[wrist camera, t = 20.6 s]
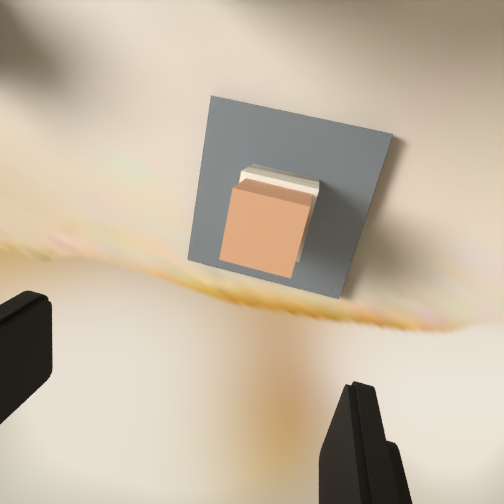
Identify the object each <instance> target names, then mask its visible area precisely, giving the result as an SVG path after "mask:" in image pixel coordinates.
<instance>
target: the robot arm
mask: <svg viewBox="0 0 504 504" xmlns="http://www.w3.org/2000/svg"><path fill="white" fill-rule="evenodd" d="M51 373H52V304H51V302H49V301H48V297H47V296H45V295H43V294H40V293H36V292H32V291H24V292H22V293H20V294H19V295H17V296H15V297H13V298H12V299H10V300H8V301H6V302H4V303H3V304H1V305H0V424H1V423H2V422H3V421H4V420H5V419H6V418H7V417H9V416H10V415H11V414H12V413H13V412H14V411H15V410H16V409H17V408H18V407H19V406H20V405H21V404H22V403H24V402H25V401H26V400H27V399H28V398H29V397H30V396H31V395H32V394H33V393H34V392H35V391H36V390H37V389H38V388H39V387H41V386H42V385H43V383H45V382H46V381H47V380H48V378H49V377H50V375H51ZM319 504H412V500H411V496H410V492H409V488H408V484H407V480H406V476H405V472H404V468H403V464H402V460H401V456H400V452H399V449H398V446H397V445H396V444H395V443H393V442H390V441H386V438H385V433H384V428H383V424H382V419H381V414H380V410H379V405H378V401H377V396H376V391H375V388H374V387H373V386H370V385H366V384H363V383H359V382H355V381H354V382H353V383H352V385H347V384H346V385H345V387H344V389H343V392H342V394H341V397H340V400H339V402H338V405H337V408H336V410H335V413H334V416H333V418H332V421H331V424H330V426H329V429H328V432H327V435H326V437H325V440H324V443H323V445H322V448H321V451H320V456H319Z"/></svg>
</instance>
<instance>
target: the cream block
mask: <svg viewBox="0 0 504 504" xmlns="http://www.w3.org/2000/svg"><path fill="white" fill-rule="evenodd" d="M246 178H248V179H252V180H256V181H260V182H264V183H269V184H273V185H277V186H281V187H285V188H289V189H294V190H298V191H302V192H306V193H310V194H312V196H311V206H310V210H309V214H308V217H307V221H306V225H305V228H304V232H303V236H302V239H301V243H300V247H299V250H298V254H297V258H296V262H299V260H300V257H301V253H302V250H303V246H304V242H305V239H306V235H307V232H308V228H309V224H310V221H311V217H312V213H313V210H314V206H315V203H316V199H317V195H318V192H319V179H316V178H312V177H308V176H303V175H299V174H295V173H291V172H286V171H282V170H278V169H274V168H269V167H265V166H261V165H257V164H252V165H251V166H249V167H247V168H245V169H244V170H242V171H241V175H240V180H239V183H240V182H241V181H243V180H244V179H246Z"/></svg>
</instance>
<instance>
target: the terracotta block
mask: <svg viewBox="0 0 504 504" xmlns="http://www.w3.org/2000/svg"><path fill="white" fill-rule="evenodd" d="M311 196H312V194H310V193H306V192H302V191H298V190H294V189H289V188H285V187H281V186H277V185H273V184H269V183H264V182H260V181H256V180H252V179H248V178H246V179H244V180H243V181H241V182H240V183H239V184H237V185H236V186H234V187H233V188H232V194H231V199H230V204H229V210H228V215H227V220H226V226H225V231H224V236H223V242H222V247H221V252H220V258H219V260H222V261H226V262H230V263H234V264H238V265H241V266H245V267H249V268H253V269H256V270H260V271H264V272H268V273H272V274H275V275H279V276H283V277H287V278H291V276H292V272H293V269H294V265H295V261H296V258H297V254H298V250H299V247H300V243H301V239H302V236H303V232H304V228H305V225H306V221H307V217H308V214H309V210H310V206H311Z"/></svg>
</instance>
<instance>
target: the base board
mask: <svg viewBox="0 0 504 504" xmlns="http://www.w3.org/2000/svg"><path fill="white" fill-rule="evenodd" d="M392 135H393V134H391V133H386V132H381V131H377V130H372V129H367V128H362V127H358V126H353V125H348V124H343V123H339V122H334V121H329V120H324V119H320V118H315V117H310V116H305V115H301V114H296V113H291V112H287V111H282V110H277V109H272V108H268V107H263V106H258V105H253V104H249V103H244V102H239V101H234V100H230V99H225V98H220V97H215V96H211V99H210V106H209V113H208V120H207V127H206V134H205V141H204V148H203V155H202V162H201V169H200V176H199V183H198V190H197V197H196V204H195V211H194V218H193V225H192V232H191V239H190V246H189V253H188V260H190V261H194V262H198V263H202V264H206V265H210V266H213V267H217V268H221V269H225V270H229V271H233V272H237V273H240V274H244V275H248V276H252V277H256V278H260V279H264V280H268V281H271V282H275V283H279V284H283V285H287V286H291V287H295V288H298V289H302V290H306V291H310V292H314V293H318V294H322V295H325V296H329V297H333V298H337V299H339V298H340V295H341V292H342V288H343V285H344V282H345V279H346V276H347V273H348V270H349V267H350V264H351V261H352V258H353V255H354V252H355V249H356V246H357V243H358V240H359V236H360V233H361V230H362V227H363V224H364V221H365V218H366V215H367V212H368V209H369V206H370V203H371V200H372V197H373V194H374V191H375V187H376V184H377V181H378V178H379V175H380V172H381V169H382V166H383V163H384V160H385V157H386V154H387V151H388V148H389V145H390V142H391V138H392ZM252 164H257V165H261V166H265V167H269V168H274V169H278V170H282V171H286V172H291V173H295V174H299V175H303V176H308V177H312V178H316V179H319V192H318V195H317V199H316V203H315V206H314V210H313V213H312V217H311V221H310V224H309V228H308V232H307V235H306V239H305V242H304V246H303V250H302V253H301V257H300V260H299V262H296V261H295V265H294V269H293V272H292V276H291V278H287V277H283V276H279V275H275V274H272V273H268V272H264V271H260V270H256V269H253V268H249V267H245V266H241V265H238V264H234V263H230V262H226V261H222V260H219V258H220V252H221V247H222V242H223V236H224V231H225V226H226V220H227V215H228V210H229V204H230V199H231V194H232V188H233V187H234V186H236V185H237V184H239V180H240V175H241V171H242V170H244V169H245V168H247V167H249V166H251V165H252Z"/></svg>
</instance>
